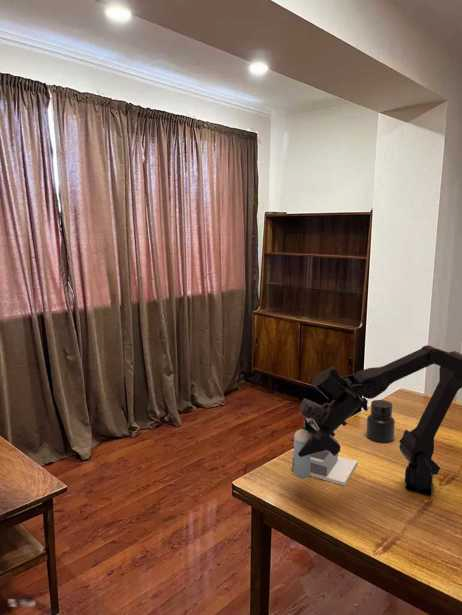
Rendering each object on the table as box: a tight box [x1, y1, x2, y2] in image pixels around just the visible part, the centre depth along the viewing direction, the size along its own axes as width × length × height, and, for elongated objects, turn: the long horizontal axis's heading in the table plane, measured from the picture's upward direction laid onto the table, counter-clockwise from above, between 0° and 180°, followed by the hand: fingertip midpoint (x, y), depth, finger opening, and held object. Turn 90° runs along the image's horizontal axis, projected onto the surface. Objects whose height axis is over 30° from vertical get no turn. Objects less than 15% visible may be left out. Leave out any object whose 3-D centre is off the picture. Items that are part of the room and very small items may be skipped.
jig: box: [292, 450, 358, 487], centre depth 131 cm, size 16×13×4 cm
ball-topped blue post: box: [293, 428, 311, 479], centre depth 117 cm, size 4×4×12 cm
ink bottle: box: [365, 399, 396, 443], centre depth 149 cm, size 10×9×12 cm
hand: (297, 451), depth 117 cm, fingers closed on ball-topped blue post, 4 cm apart
